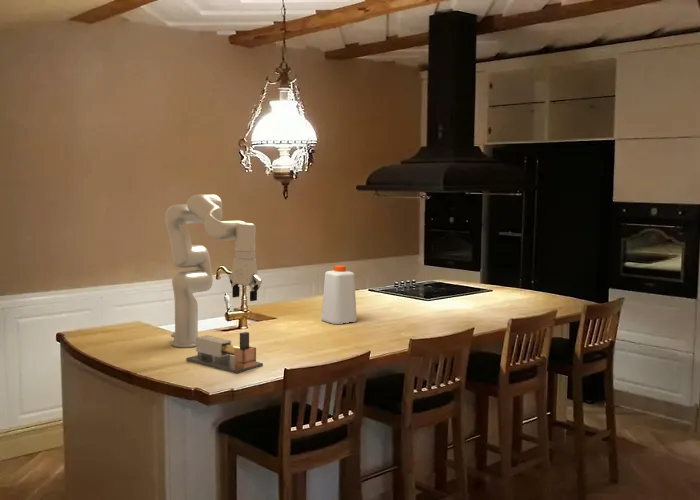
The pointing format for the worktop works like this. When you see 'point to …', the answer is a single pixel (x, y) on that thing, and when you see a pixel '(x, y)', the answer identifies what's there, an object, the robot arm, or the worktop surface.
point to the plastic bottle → (339, 296)
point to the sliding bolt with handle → (231, 349)
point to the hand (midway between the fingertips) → (244, 298)
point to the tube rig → (223, 355)
